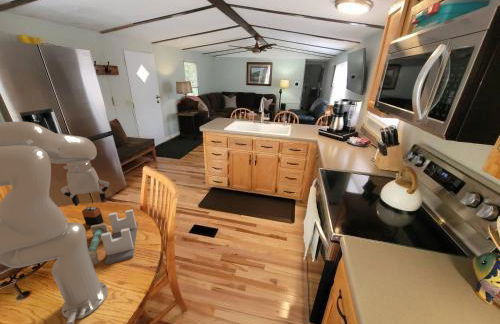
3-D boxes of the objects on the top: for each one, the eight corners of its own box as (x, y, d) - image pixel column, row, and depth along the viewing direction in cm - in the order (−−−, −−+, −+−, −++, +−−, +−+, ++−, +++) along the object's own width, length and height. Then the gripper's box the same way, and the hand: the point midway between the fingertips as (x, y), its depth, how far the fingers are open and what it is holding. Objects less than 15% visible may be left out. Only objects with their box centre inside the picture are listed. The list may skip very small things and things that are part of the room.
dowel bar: (98, 263, 85) (94, 252, 83) (81, 268, 83) (76, 257, 81) (108, 232, 103) (105, 222, 101) (94, 235, 101) (91, 225, 98)
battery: (97, 226, 107) (92, 210, 103) (85, 225, 107) (80, 209, 104) (104, 221, 111) (99, 205, 107) (92, 220, 111) (87, 204, 108)
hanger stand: (133, 257, 89) (127, 235, 84) (105, 264, 85) (98, 242, 81) (137, 224, 109) (133, 205, 105) (116, 228, 106) (110, 209, 101)
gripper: (49, 173, 79) (63, 210, 85) (102, 167, 85) (111, 202, 91) (57, 166, 85) (69, 201, 91) (106, 161, 91) (114, 194, 98)
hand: (90, 202), depth 91 cm, fingers open, 9 cm apart
